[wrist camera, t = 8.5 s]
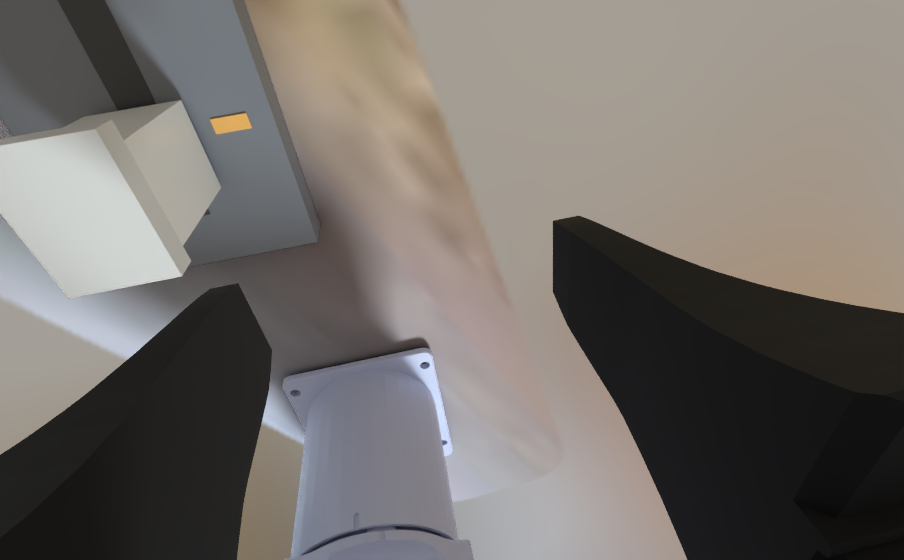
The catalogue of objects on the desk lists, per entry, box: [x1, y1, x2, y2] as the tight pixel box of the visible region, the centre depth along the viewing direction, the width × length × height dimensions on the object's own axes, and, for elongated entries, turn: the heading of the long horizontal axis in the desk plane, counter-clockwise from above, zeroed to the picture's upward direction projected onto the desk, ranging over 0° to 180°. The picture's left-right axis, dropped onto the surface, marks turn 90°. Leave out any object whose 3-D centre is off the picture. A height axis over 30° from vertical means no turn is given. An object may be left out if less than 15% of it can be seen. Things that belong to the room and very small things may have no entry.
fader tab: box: [0, 100, 221, 299], centre depth 13 cm, size 4×3×5 cm
